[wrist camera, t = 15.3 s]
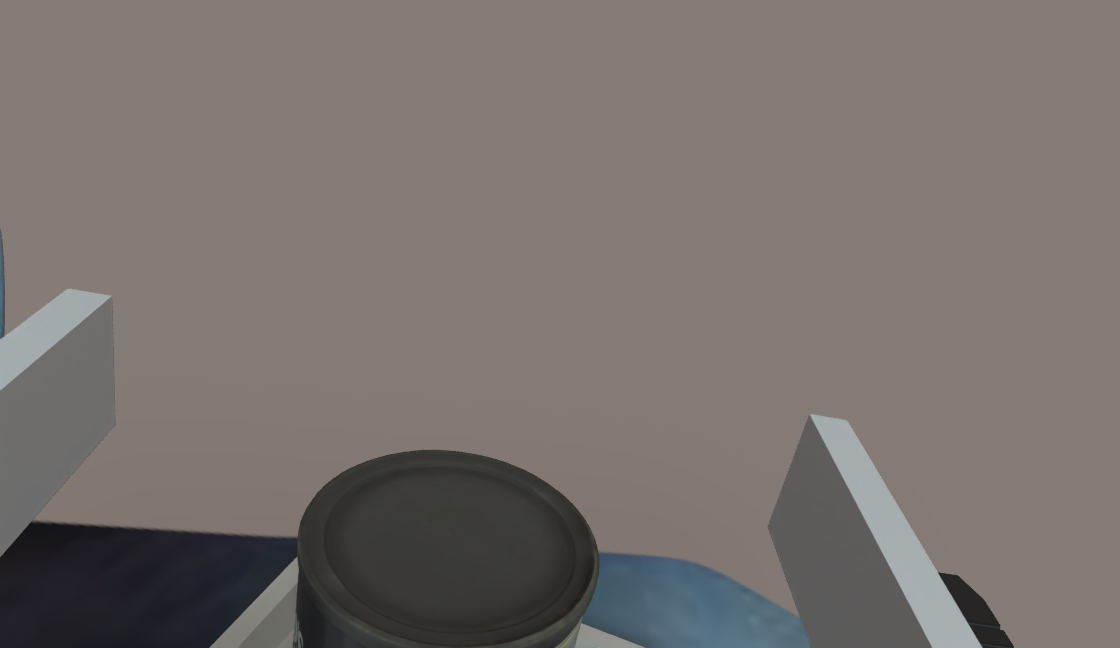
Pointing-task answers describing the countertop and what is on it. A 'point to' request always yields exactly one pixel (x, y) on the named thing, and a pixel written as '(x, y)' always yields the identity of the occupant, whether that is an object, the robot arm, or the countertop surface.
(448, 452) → the coffee can
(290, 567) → the box
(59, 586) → the countertop surface
